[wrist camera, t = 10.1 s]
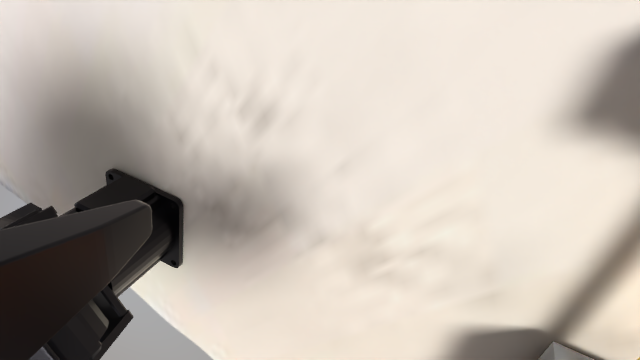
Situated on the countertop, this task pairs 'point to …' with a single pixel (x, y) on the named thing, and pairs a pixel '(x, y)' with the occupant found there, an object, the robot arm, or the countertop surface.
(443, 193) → the countertop surface
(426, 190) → the countertop surface
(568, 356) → the sleeve
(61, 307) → the robot arm
